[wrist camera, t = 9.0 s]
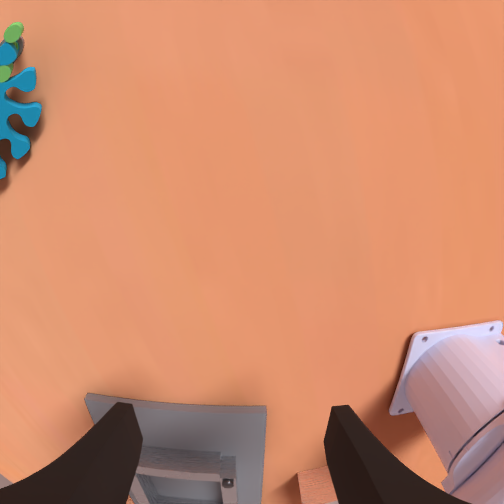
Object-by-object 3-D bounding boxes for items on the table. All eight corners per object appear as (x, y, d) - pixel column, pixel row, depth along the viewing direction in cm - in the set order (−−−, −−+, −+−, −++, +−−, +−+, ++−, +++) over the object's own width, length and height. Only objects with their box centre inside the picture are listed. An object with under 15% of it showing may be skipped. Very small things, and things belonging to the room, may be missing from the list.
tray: (266, 405, 22) (268, 441, 18) (259, 516, 28) (260, 540, 24) (87, 392, 21) (71, 422, 18) (140, 507, 27) (135, 530, 24)
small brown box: (345, 459, 25) (355, 496, 20) (348, 484, 26) (356, 517, 22) (297, 471, 25) (302, 509, 21) (305, 495, 27) (310, 528, 22)
